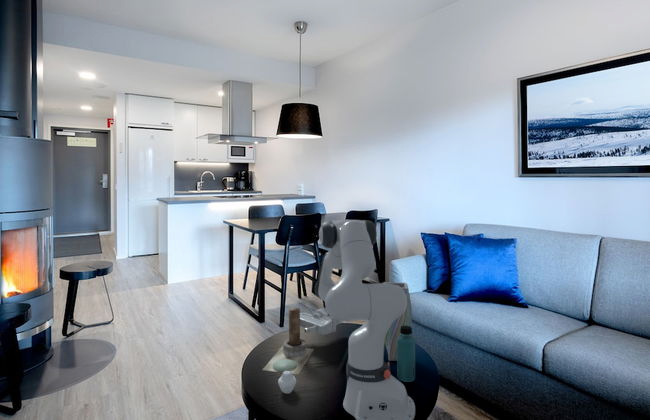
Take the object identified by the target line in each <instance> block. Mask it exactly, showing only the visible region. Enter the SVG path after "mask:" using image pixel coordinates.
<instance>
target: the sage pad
mask: <svg viewBox="0 0 650 420" xmlns="http://www.w3.org/2000/svg"><path fill="white" fill-rule="evenodd" d="M295 368H296V362H295V361H293V360H290V359H282V360H278V361H276V362H274V363H273V369H274V370H276V371H281V372H280V373H282V372H285V371H291V370H293V369H295Z"/></svg>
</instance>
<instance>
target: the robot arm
mask: <svg viewBox="0 0 650 420" xmlns="http://www.w3.org/2000/svg"><path fill="white" fill-rule="evenodd" d="M377 235H378V232H377V227H376V225H375V223H374V222H373V221H372V220H368V219H366V220H365V219H363V220H361V219H339V220H337V219H336V220H326V221H324V222H323V223H321V225H320V228H319V231H318V237H319V240H320V244H321V245H322V246H323V247H324V248H327V249H328V251H327V252H326V253H325V254H324V255H323V257H322V260H321V263H320V268H319V273H318V278H317V281H316V283H315V285H314V295H315V296H316V297H317V298H318V299H320V300H322V301H324V306H325V307H322V308H319V309H316V310H314V311H313V312H312V314H311V313H309V312H300V328H304V333H306V334H309V333H316V334H318V335H319V334H320V335H322V336H323V335H328V334H331V333H335V332H336V330H337V325H339V324H342V323H344V322H354V321H355V322H356V321H364V322H363V324H362V325H361V326H360V327H358V328H357V329H355V330H354V331H352V333H351V334H350V335H349V338H348V342H347V343H348V347H347V348H348V352H347V353H348V358H347V361H346V379H347V380H346V381H347V382H346V390H345V396H344V398H343V403H342V406H343V408H344V410H345V411H346V412H347V413H348V414H350V415H351V416H353V417H354V418H355V420H414V419H415V416H416V405H415V402H414V399H412V397H410V396H409V395H408V393H407V389H406V386H405V385H404V383H402V381H401V380H399V379H398V378H396V377H395V376H393V375H392V374H391V366H390V361H388V362H385V361H384V353H385V338H386V335H387V332H388V330H389V328H390V327H391V325H392V324H393V322H394V321H395V320H396V319H397V318H398V317H400V316H401V315H402V314H403V313H404V311H405V309H406V306H407V298H406V294H405V292H404V291H403V289H402V288H401V287H400V286H398V285H393V284H387V283H383V282H380V283H378V282H377V283H364V282H362V281H363V280H365V279H367V278H369V277H370V276H371V275H372V274H373V273H374V272H375V270H376V265H377V263H376V257H375V253H374V249H373V245H375V244H376V241H377V237H378V236H377ZM333 270H341V275H340V278H339V279H338V281H337V282H335V281H334V280H333V278H332V275H333V274H332V273H333Z"/></svg>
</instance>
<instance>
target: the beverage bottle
mask: <svg viewBox="0 0 650 420" xmlns="http://www.w3.org/2000/svg"><path fill="white" fill-rule="evenodd" d="M400 333H401V334H402V335H400V336H399V337H398V338H397V361H396V377H397V380H398V381H400V382H404V383H405V382H406V383H409V382H413V381H415V379H416V363H417V362H416V339H415V337H413V335H412V334H413V328H412V326H411V327H410V326H401V329H400Z"/></svg>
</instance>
